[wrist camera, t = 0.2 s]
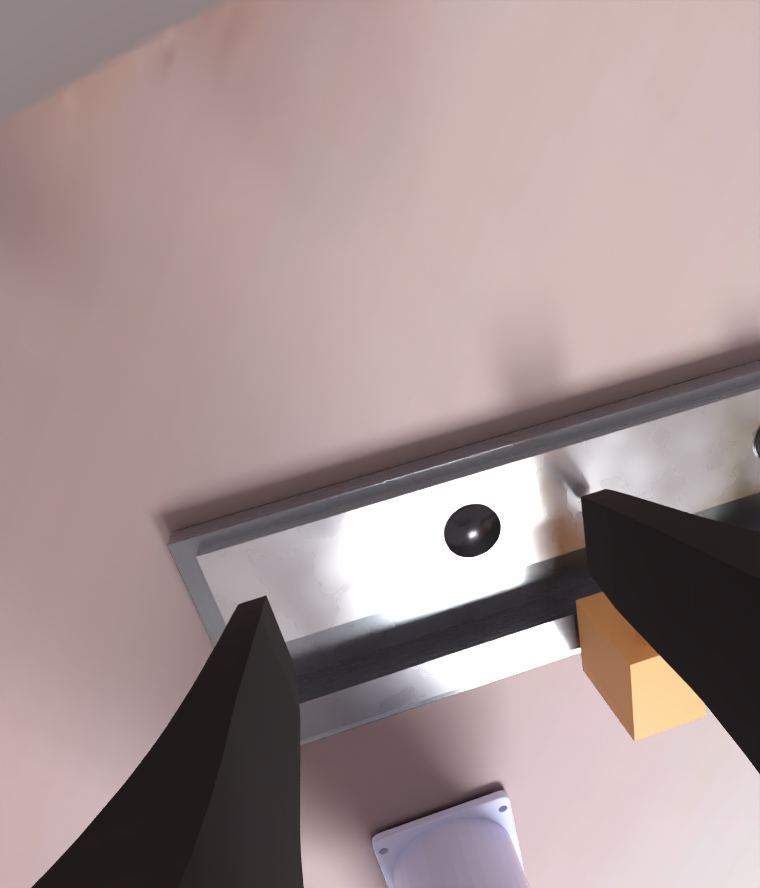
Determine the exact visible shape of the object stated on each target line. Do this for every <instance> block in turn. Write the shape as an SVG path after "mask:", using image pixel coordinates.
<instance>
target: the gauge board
mask: <svg viewBox="0 0 760 888" xmlns="http://www.w3.org/2000/svg"><path fill="white" fill-rule="evenodd" d="M604 489H609V490H613V491H617V492H621V493H625V494H628V495H632V496H635V497H638V498H642V499H645V500H648V501H652V502H655V503H658V504H661V505H664V506H668V507H671V508H674V509H678V510H681V511H684V512H688V513H691V514H694V515H698V516H701V517H705V518H708V519H712V520H715V521H719V522H723V523H726V524H730V525H734V526H738V527H742V528H746V529H750V530H754V531H758V532H760V360H758V361H755V362H751V363H748V364H744V365H741V366H738V367H734V368H731V369H727V370H724V371H720V372H717V373H714V374H710V375H707V376H703V377H700V378H697V379H693V380H690V381H686V382H683V383H680V384H676V385H673V386H669V387H666V388H662V389H659V390H656V391H652V392H649V393H645V394H642V395H639V396H635V397H632V398H628V399H625V400H621V401H618V402H615V403H611V404H608V405H604V406H601V407H598V408H594V409H591V410H587V411H584V412H581V413H577V414H574V415H570V416H567V417H563V418H560V419H557V420H553V421H550V422H546V423H543V424H540V425H536V426H533V427H529V428H526V429H522V430H519V431H516V432H512V433H509V434H505V435H502V436H499V437H495V438H492V439H488V440H485V441H482V442H478V443H475V444H471V445H468V446H464V447H461V448H458V449H454V450H451V451H447V452H444V453H441V454H437V455H434V456H430V457H427V458H423V459H420V460H417V461H413V462H410V463H406V464H403V465H400V466H396V467H393V468H389V469H386V470H383V471H379V472H376V473H372V474H369V475H365V476H362V477H359V478H355V479H352V480H348V481H345V482H342V483H338V484H335V485H331V486H328V487H324V488H321V489H318V490H314V491H311V492H307V493H304V494H301V495H297V496H294V497H290V498H287V499H284V500H280V501H277V502H273V503H270V504H266V505H263V506H260V507H256V508H253V509H249V510H246V511H243V512H239V513H236V514H232V515H229V516H225V517H222V518H219V519H215V520H212V521H208V522H205V523H202V524H198V525H195V526H191V527H188V528H185V529H181V530H178V531H174V532H172V534H171V537H170V540H169V542H168V545H167V546H168V548H169V550H170V552H171V554H172V556H173V559H174V561H175V563H176V565H177V567H178V569H179V572H180V574H181V576H182V578H183V580H184V582H185V584H186V587H187V589H188V591H189V593H190V595H191V597H192V600H193V602H194V604H195V606H196V608H197V610H198V613H199V615H200V617H201V619H202V621H203V623H204V625H205V628H206V630H207V632H208V634H209V636H210V638H211V641H212V643H213V645H214V647H215V646H216V644H217V642H218V640H219V638H220V636H221V635H222V633H223V631H224V629H225V627H226V625H227V623H228V622H229V620H230V618H231V616H232V614H233V613H234V611H235V609H236V607H237V606H238V604H240V603H243V602H246V601H250V600H253V599H256V598H259V597H262V596H267V598H268V601H269V603H270V606H271V608H272V611H273V613H274V616H275V618H276V621H277V623H278V626H279V628H280V631H281V633H282V636H283V638H284V641H285V643H286V645H287V648H288V650H289V653H290V655H291V658H292V660H293V663H294V665H295V671H296V679H297V687H298V696H299V706H300V746H301V745H304V744H307V743H310V742H313V741H316V740H319V739H322V738H325V737H328V736H331V735H334V734H337V733H340V732H343V731H346V730H349V729H352V728H355V727H358V726H361V725H364V724H367V723H370V722H373V721H376V720H379V719H382V718H385V717H388V716H391V715H394V714H397V713H400V712H403V711H406V710H409V709H412V708H415V707H418V706H421V705H424V704H427V703H430V702H433V701H436V700H439V699H442V698H445V697H448V696H451V695H454V694H457V693H460V692H463V691H466V690H469V689H472V688H475V687H478V686H481V685H484V684H487V683H490V682H493V681H496V680H499V679H502V678H505V677H508V676H511V675H514V674H517V673H520V672H523V671H526V670H529V669H532V668H535V667H538V666H541V665H544V664H547V663H550V662H553V661H556V660H559V659H562V658H565V657H567V656H570V655H573V654H576V653H579V652H581V647H580V637H579V628H578V618H577V609H576V600H578V599H582V598H585V597H588V596H591V595H594V594H597V593H600V592H603V591H602V590H601V589H600V587H599V586H598V584H597V583H596V581H595V580H594V579H593V577H592V576H591V574H590V573H589V571H588V565H587V556H586V546H585V536H584V526H583V516H582V506H581V496H584V495H588V494H591V493H594V492H597V491H600V490H604Z"/></svg>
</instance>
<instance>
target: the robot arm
mask: <svg viewBox="0 0 760 888" xmlns="http://www.w3.org/2000/svg"><path fill="white" fill-rule="evenodd" d="M581 506H582V516H583V526H584V536H585V546H586V556H587V565H588V571H589V573H590V574H591V576H592V577H593V579H594V580H595V581H596V583H597V584H598V586H599V587H600V589H601V590H602V591H603V593H604V594H605V595H606V597H607V598H608V599H609V601H610V602H611V603H612V605H613V606H614V607H615V608H616V610H617V611H618V612H619V613H620V614H621V615H622V616H623V617H624V618H625V619H626V620H627V621H628V622H629V624H630V625H631V626H632V627H633V628H634V629H635V630H636V631H637V632H638V633H639V634H640V635H641V636H642V637H643V638H644V639H645V641H646V642H647V643H648V644H649V645H650V646H651V647H652V648H653V649H654V650H655V651H656V652H657V653H658V654H659V655H660V656H661V657H662V658H663V659H664V660H665V661H666V663H667V664H668V665H669V666H670V667H671V668H672V669H673V670H674V671H675V672H676V673H677V674H678V675H679V676H680V677H681V678H682V679H683V680H684V681H685V682H686V683H687V685H688V686H689V687H690V688H691V689H692V690H693V691H694V692H695V693H696V694H697V696H698V697H699V698H700V699H701V700H702V701H703V702H704V704H705V705H706V706H707V707H708V708H709V709H710V711H711V712H712V713H713V714H714V716H715V717H716V718H717V719H718V721H719V722H720V723H721V724H722V726H723V727H724V728H725V730H726V731H727V732H728V733H729V735H730V736H731V737H732V738H733V740H734V741H735V742H736V743H737V745H738V746H739V747H740V748H741V750H742V751H743V752H744V754H745V755H746V756H747V758H748V759H749V760H750V762H751V763H752V764H753V766H754V767H755V768H756V770H757V771H758V772H759V774H760V532H758V531H754V530H750V529H746V528H742V527H738V526H734V525H730V524H726V523H723V522H719V521H715V520H712V519H708V518H705V517H701V516H698V515H694V514H691V513H688V512H684V511H681V510H678V509H674V508H671V507H668V506H664V505H661V504H658V503H655V502H652V501H648V500H645V499H642V498H638V497H635V496H632V495H628V494H625V493H621V492H617V491H613V490H609V489H604V490H600V491H597V492H594V493H591V494H588V495H584V496H581ZM372 845H373V850H374V852H375V855H376V857H377V860H378V863H379V865H380V868H381V870H382V873H383V876H384V878H385V881H386V883H387V886H388V888H530V886H529V883H528V881H527V878H526V876H525V871H524V866H523V862H522V857H521V852H520V847H519V842H518V837H517V832H516V827H515V823H514V818H513V813H512V808H511V803H510V799H509V796H508V794H507V792H505V791H497V792H494V793H491V794H488V795H485V796H482V797H480V798H477V799H474V800H471V801H468V802H465V803H463V804H460V805H457V806H454V807H451V808H448V809H446V810H443V811H440V812H437V813H434V814H431V815H429V816H426V817H423V818H420V819H417V820H414V821H412V822H409V823H406V824H403V825H400V826H397V827H395V828H392V829H389V830H386V831H383V832H380V833H378V834H376V835H375V836H374V837H373V838H372ZM32 888H304V886H303V874H302V863H301V847H300V706H299V696H298V687H297V679H296V671H295V665H294V663H293V660H292V658H291V655H290V653H289V650H288V648H287V645H286V643H285V641H284V638H283V636H282V633H281V631H280V628H279V626H278V623H277V621H276V618H275V616H274V613H273V611H272V608H271V606H270V603H269V601H268V598H267V596H262V597H259V598H256V599H253V600H250V601H246V602H243V603H240V604H238V606H237V607H236V609H235V611H234V613H233V614H232V616H231V618H230V620H229V622H228V623H227V625H226V627H225V629H224V631H223V633H222V635H221V636H220V638H219V640H218V642H217V644H216V646H215V647H214V649H213V651H212V653H211V655H210V657H209V658H208V660H207V662H206V664H205V665H204V667H203V669H202V670H201V672H200V674H199V676H198V677H197V679H196V681H195V683H194V684H193V686H192V688H191V689H190V691H189V693H188V694H187V696H186V697H185V699H184V700H183V702H182V704H181V705H180V707H179V708H178V710H177V711H176V713H175V715H174V716H173V718H172V719H171V721H170V722H169V724H168V725H167V727H166V728H165V730H164V731H163V733H162V734H161V736H160V737H159V738H158V740H157V741H156V743H155V744H154V745H153V747H152V748H151V750H150V751H149V752H148V754H147V755H146V756H145V757H144V759H143V760H142V761H141V763H140V764H139V765H138V767H137V768H136V769H135V771H134V772H133V773H132V775H131V776H130V777H129V778H128V780H127V781H126V782H125V783H124V785H123V786H122V787H121V788H120V790H119V791H118V792H117V793H116V794H115V795H114V797H113V798H112V799H111V800H110V801H109V802H108V804H107V805H106V806H105V807H104V808H103V810H102V811H101V812H100V813H99V814H98V815H97V817H96V818H95V819H94V820H93V821H92V822H91V824H90V825H89V826H88V827H87V828H86V829H85V831H84V832H83V833H82V834H81V835H80V837H79V838H78V839H77V840H76V841H75V842H74V843H73V844H72V845H71V846H70V847H69V849H68V850H67V851H66V852H65V853H64V854H63V855H62V856H61V857H60V858H59V859H58V860H57V861H56V863H55V864H54V865H53V866H52V867H51V868H50V869H49V870H48V871H47V872H46V873H45V874H44V875H43V876H42V877H41V878H40V879H39V880H38V881H37V882H36V883H35V884H34V885H33V886H32Z"/></svg>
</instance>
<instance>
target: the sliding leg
mask: <svg viewBox="0 0 760 888" xmlns="http://www.w3.org/2000/svg"><path fill="white" fill-rule="evenodd" d="M576 609H577V618H578V628H579V637H580V647H581V656H582V666H583V671H584V672H585V673H586V675H587V676H588V678H589V679H590V680H591V682H592V683H593V685H594V686H595V687H596V689H597V690H598V691H599V693H600V694H601V696H602V697H603V698H604V700H605V701H606V703H607V704H608V705H609V707H610V708H611V709H612V711H613V712H614V714H615V715H616V716H617V718H618V719H619V721H620V722H621V723H622V725H623V726H624V727H625V729H626V730H627V732H628V733H629V734H630V736H631V737H632V739H633V740H634V741H638V740H641V739H643V738H646V737H649V736H652V735H655V734H658V733H660V732H663V731H666V730H669V729H672V728H675V727H677V726H680V725H683V724H686V723H689V722H692V721H694V720H697V719H700V718H703V717H705V704H704V702H703V701H702V700H701V699H700V698H699V697H698V696H697V694H696V693H695V692H694V691H693V690H692V689H691V688H690V687H689V686H688V685H687V683H686V682H685V681H684V680H683V679H682V678H681V677H680V676H679V675H678V674H677V673H676V672H675V671H674V670H673V669H672V668H671V667H670V666H669V665H668V664H667V663H666V661H665V660H664V659H663V658H662V657H661V656H660V655H659V654H658V653H657V652H656V651H655V650H654V649H653V648H652V647H651V646H650V645H649V644H648V643H647V642H646V641H645V639H644V638H643V637H642V636H641V635H640V634H639V633H638V632H637V631H636V630H635V629H634V628H633V627H632V626H631V625H630V624H629V622H628V621H627V620H626V619H625V618H624V617H623V616H622V615H621V614H620V613H619V612H618V611H617V610H616V608H615V607H614V606H613V605H612V603H611V602H610V601H609V599H608V598H607V597H606V595H605V594H604V593H603V592H600V593H597V594H594V595H591V596H588V597H585V598H582V599H578V600H576Z"/></svg>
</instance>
